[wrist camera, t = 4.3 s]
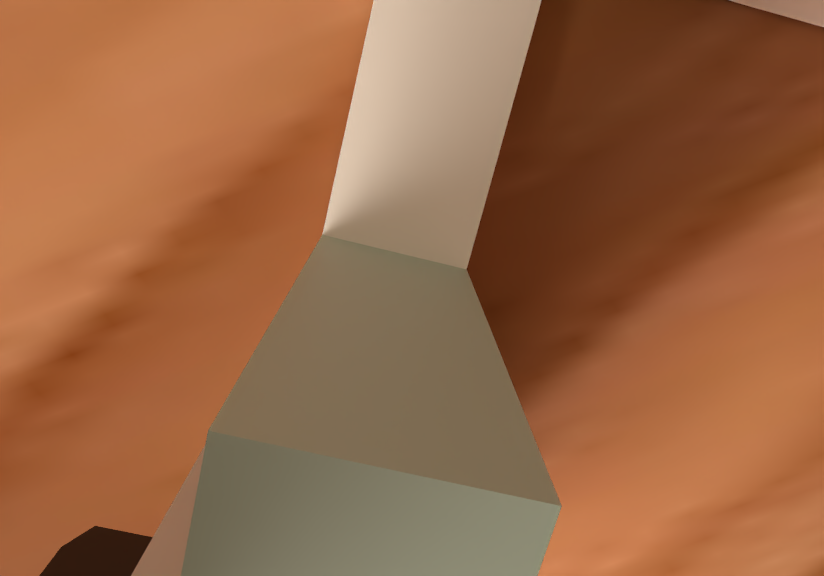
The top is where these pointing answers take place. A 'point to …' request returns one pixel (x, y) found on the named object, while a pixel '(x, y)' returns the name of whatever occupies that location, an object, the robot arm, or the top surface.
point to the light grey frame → (393, 338)
